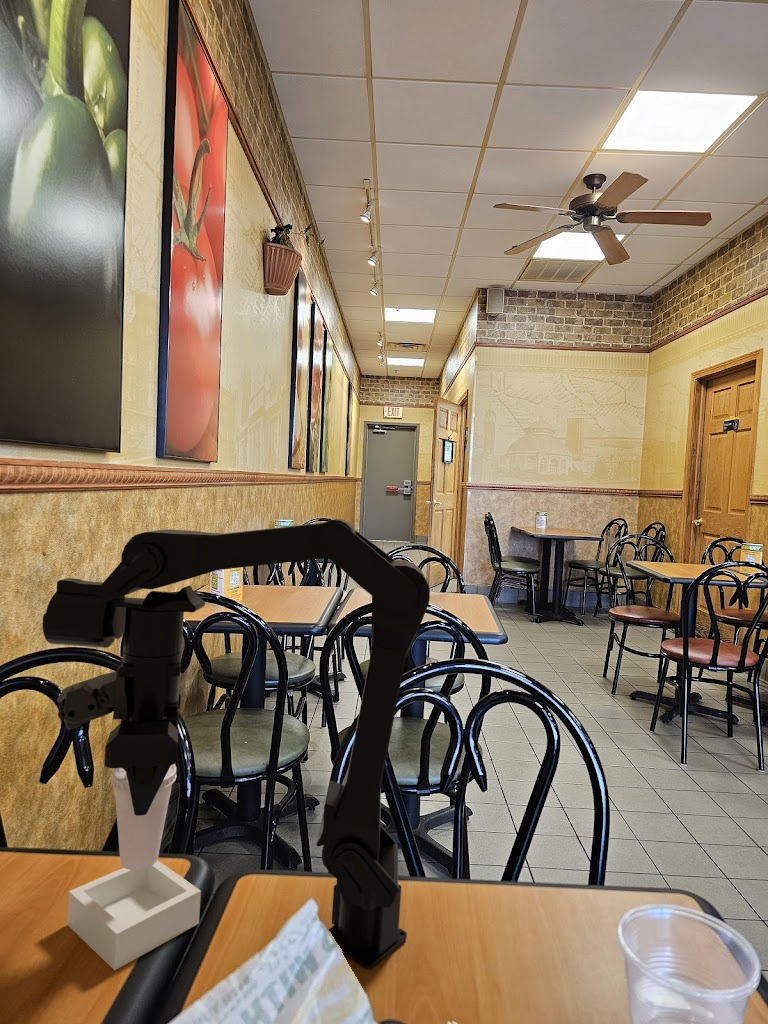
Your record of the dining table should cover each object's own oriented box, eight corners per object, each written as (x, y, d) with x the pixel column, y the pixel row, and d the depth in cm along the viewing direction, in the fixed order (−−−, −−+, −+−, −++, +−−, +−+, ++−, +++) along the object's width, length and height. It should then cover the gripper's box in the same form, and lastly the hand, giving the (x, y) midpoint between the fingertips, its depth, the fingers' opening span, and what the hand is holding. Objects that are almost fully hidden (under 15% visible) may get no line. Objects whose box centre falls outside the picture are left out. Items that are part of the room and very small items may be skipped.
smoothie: (92, 863, 67) (100, 730, 66) (142, 835, 72) (149, 712, 72) (136, 886, 64) (144, 747, 63) (184, 855, 69) (192, 727, 69)
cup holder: (198, 923, 68) (200, 890, 68) (114, 970, 61) (116, 933, 61) (149, 885, 74) (151, 855, 74) (67, 924, 67) (68, 891, 67)
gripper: (83, 630, 74) (74, 766, 74) (47, 677, 56) (36, 855, 56) (185, 631, 77) (176, 761, 77) (181, 676, 59) (170, 844, 59)
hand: (143, 799), depth 68 cm, fingers closed on smoothie, 6 cm apart
